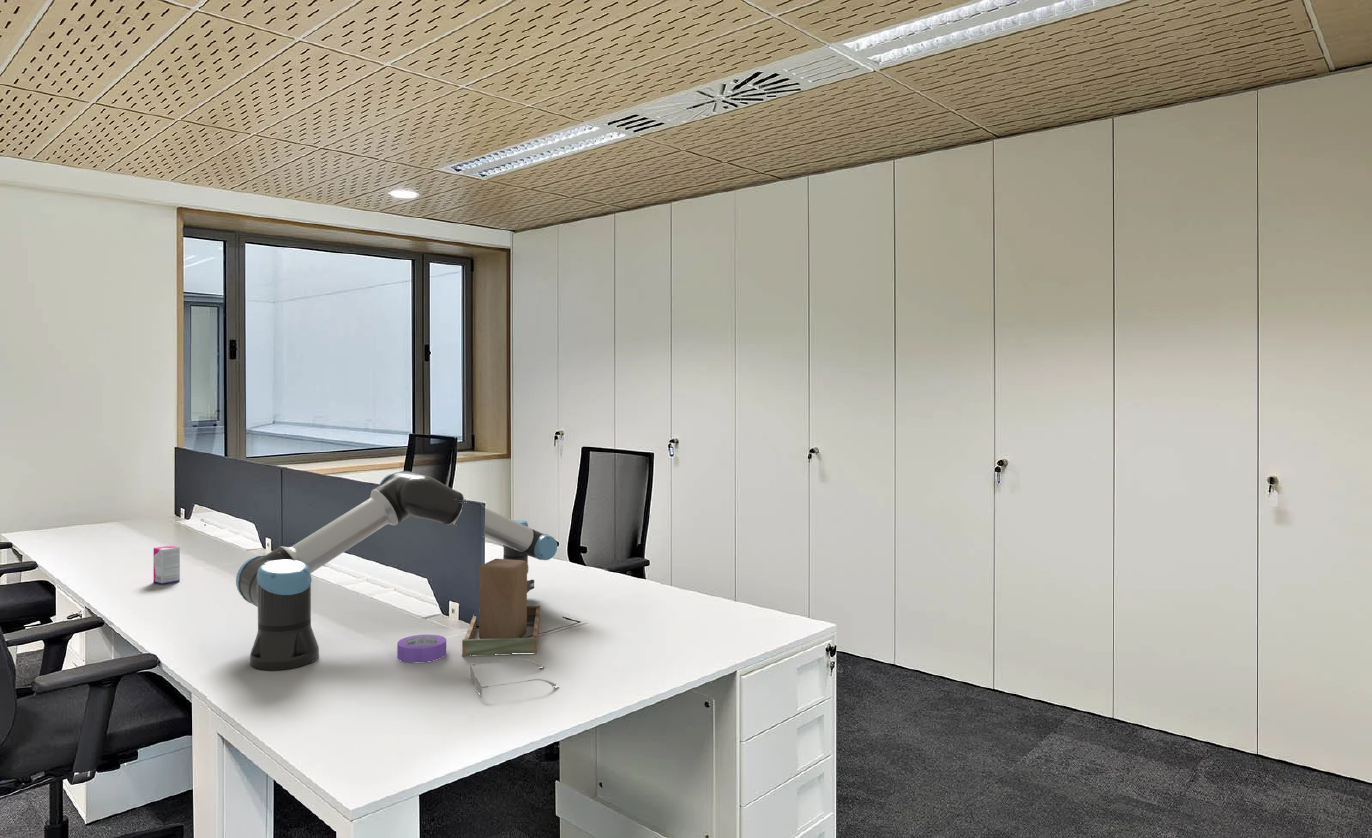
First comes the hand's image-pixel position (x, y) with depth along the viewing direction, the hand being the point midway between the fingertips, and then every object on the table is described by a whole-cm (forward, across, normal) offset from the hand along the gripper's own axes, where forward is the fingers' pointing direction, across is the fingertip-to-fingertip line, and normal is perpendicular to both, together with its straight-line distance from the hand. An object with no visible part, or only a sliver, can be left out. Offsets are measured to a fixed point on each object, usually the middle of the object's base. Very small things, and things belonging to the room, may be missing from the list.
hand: (508, 598), depth 234 cm
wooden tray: (+4, +1, -9) cm, 10 cm away
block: (+5, +1, -9) cm, 11 cm away
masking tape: (+19, +20, -9) cm, 29 cm away
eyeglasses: (+40, -4, -10) cm, 41 cm away
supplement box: (-63, +114, -9) cm, 130 cm away
